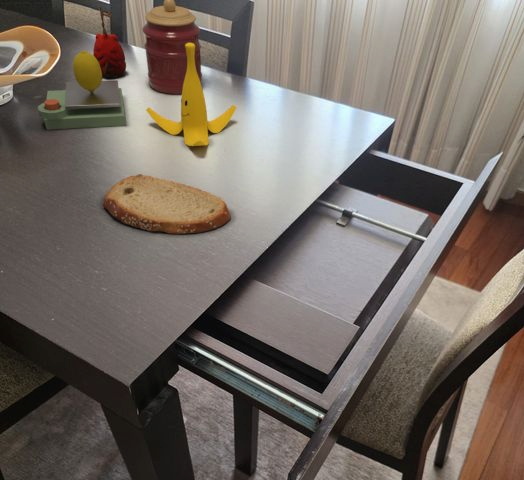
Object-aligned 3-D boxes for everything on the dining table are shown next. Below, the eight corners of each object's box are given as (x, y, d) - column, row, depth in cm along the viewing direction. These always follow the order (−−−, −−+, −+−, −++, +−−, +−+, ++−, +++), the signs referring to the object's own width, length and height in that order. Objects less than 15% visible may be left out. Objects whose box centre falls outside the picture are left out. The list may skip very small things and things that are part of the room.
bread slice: (238, 222, 81) (238, 202, 78) (136, 253, 74) (133, 233, 71) (190, 174, 91) (188, 154, 88) (96, 197, 84) (91, 177, 81)
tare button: (45, 111, 99) (43, 104, 98) (46, 106, 100) (44, 99, 99) (60, 111, 99) (58, 104, 98) (60, 105, 101) (58, 98, 100)
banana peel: (199, 159, 95) (194, 64, 82) (146, 124, 104) (134, 34, 91) (262, 137, 102) (267, 47, 90) (208, 106, 112) (205, 21, 99)
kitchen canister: (184, 99, 114) (178, 10, 101) (138, 87, 117) (126, -1, 104) (211, 81, 122) (209, -4, 109) (167, 71, 125) (160, -13, 112)
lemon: (95, 99, 101) (87, 56, 95) (73, 94, 102) (63, 52, 96) (110, 90, 105) (103, 48, 99) (88, 85, 106) (79, 44, 100)
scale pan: (65, 109, 99) (64, 106, 98) (67, 84, 107) (66, 82, 107) (120, 106, 101) (120, 103, 101) (118, 83, 109) (117, 80, 109)
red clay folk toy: (128, 69, 124) (117, -1, 113) (126, 80, 120) (116, 7, 109) (97, 69, 123) (84, -2, 112) (94, 80, 119) (80, 7, 108)
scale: (42, 130, 100) (36, 113, 97) (46, 100, 110) (41, 84, 107) (126, 126, 103) (123, 109, 100) (122, 97, 113) (120, 81, 110)
